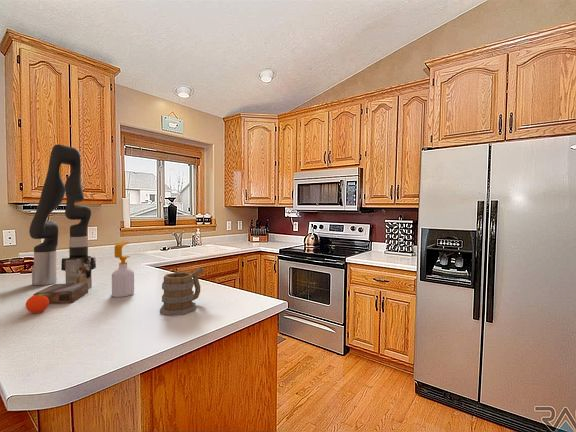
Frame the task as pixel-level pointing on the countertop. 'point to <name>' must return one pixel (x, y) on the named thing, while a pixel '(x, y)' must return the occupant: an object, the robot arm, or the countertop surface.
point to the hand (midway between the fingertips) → (79, 278)
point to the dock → (64, 292)
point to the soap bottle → (122, 275)
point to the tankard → (180, 292)
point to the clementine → (37, 303)
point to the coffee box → (77, 271)
